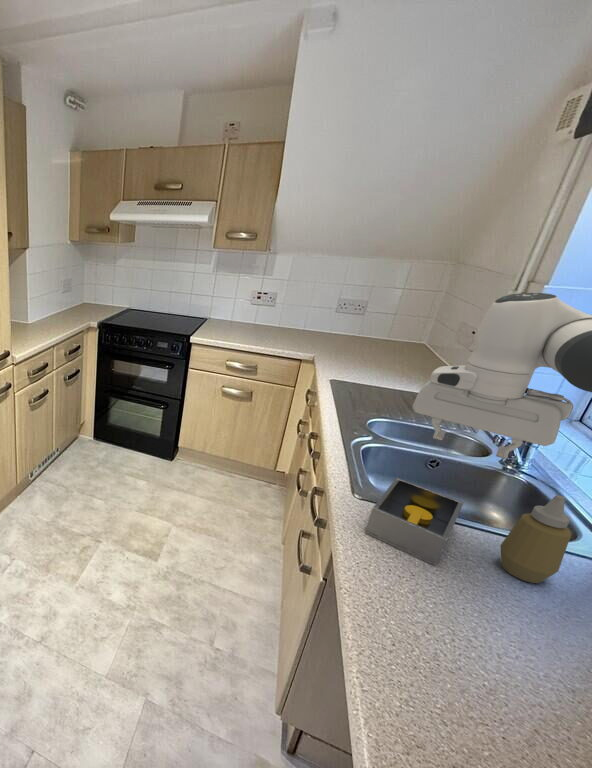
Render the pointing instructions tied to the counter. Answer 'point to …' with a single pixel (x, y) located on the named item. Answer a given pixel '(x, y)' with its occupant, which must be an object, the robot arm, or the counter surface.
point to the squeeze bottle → (537, 542)
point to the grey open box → (408, 536)
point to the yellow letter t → (417, 515)
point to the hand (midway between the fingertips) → (468, 447)
